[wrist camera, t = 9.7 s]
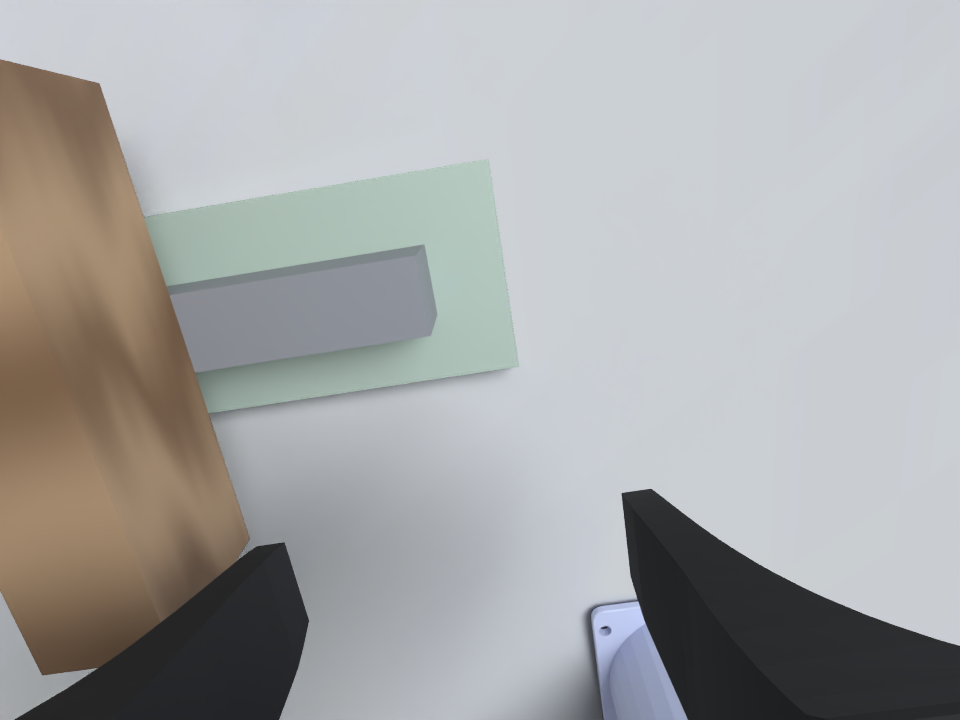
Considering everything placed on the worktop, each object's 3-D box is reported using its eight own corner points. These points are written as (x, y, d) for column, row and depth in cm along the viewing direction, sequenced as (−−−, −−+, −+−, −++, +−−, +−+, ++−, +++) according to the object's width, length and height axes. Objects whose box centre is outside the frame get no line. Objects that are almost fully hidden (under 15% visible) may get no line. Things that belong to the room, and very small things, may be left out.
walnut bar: (250, 538, 19) (174, 657, 15) (149, 553, 20) (42, 675, 15) (99, 83, 15) (-76, 41, 10) (-28, 106, 15) (-256, 76, 11)
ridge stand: (516, 356, 22) (524, 395, 18) (6, 434, 23) (-90, 486, 19) (488, 159, 20) (490, 156, 16) (-74, 254, 20) (-200, 272, 17)
